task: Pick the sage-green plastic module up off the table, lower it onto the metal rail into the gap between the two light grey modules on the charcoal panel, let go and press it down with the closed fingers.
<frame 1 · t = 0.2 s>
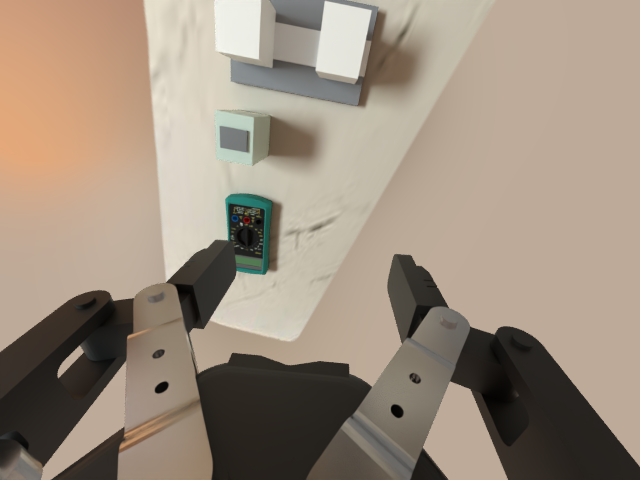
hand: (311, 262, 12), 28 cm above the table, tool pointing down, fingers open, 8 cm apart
digital multimeter: (251, 232, 45), on the table
module: (254, 133, 36), on the table
rail panel: (300, 48, 31), on the table
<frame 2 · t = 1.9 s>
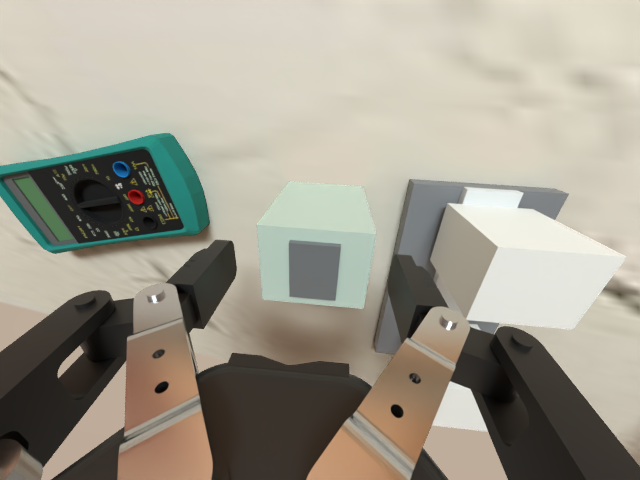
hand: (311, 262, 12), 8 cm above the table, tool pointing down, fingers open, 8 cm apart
digital multimeter: (121, 193, 21), on the table
module: (324, 212, 19), on the table
rail panel: (446, 280, 21), on the table
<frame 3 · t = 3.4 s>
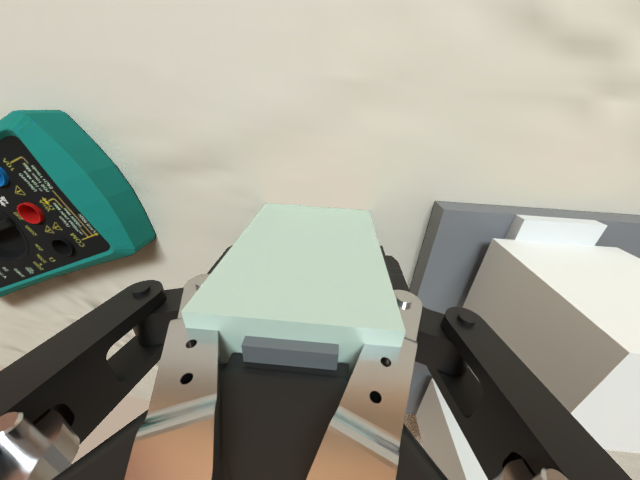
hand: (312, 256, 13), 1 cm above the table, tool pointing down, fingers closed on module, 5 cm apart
digital multimeter: (38, 214, 15), on the table
module: (315, 243, 14), on the table, touching gripper
rail panel: (476, 328, 16), on the table
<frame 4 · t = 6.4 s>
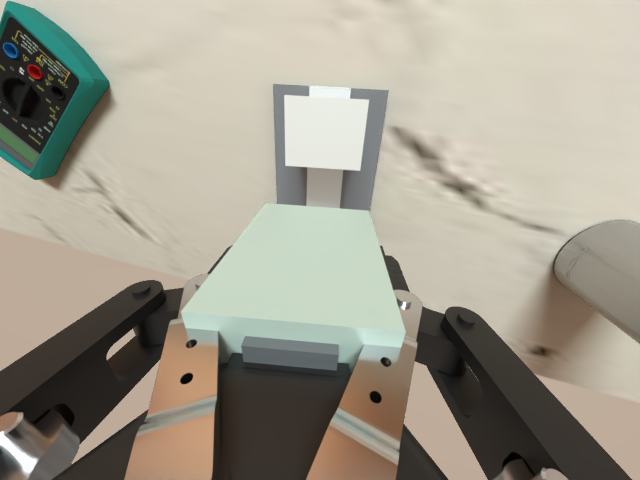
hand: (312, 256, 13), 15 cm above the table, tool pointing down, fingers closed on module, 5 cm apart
digital multimeter: (51, 104, 25), on the table
module: (315, 243, 14), point 14 cm above the table, touching gripper
rail panel: (325, 181, 26), on the table
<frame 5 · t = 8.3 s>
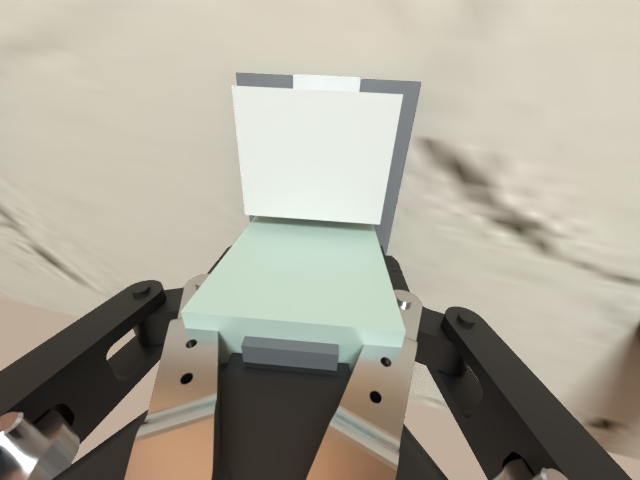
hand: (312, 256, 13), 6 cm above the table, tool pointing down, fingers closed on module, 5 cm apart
module: (315, 243, 14), point 5 cm above the table, touching gripper
rail panel: (320, 215, 18), on the table
when the fingers open (5 cm above the table, at t = 9.7 s): module drops 1 cm, resting on rail panel.
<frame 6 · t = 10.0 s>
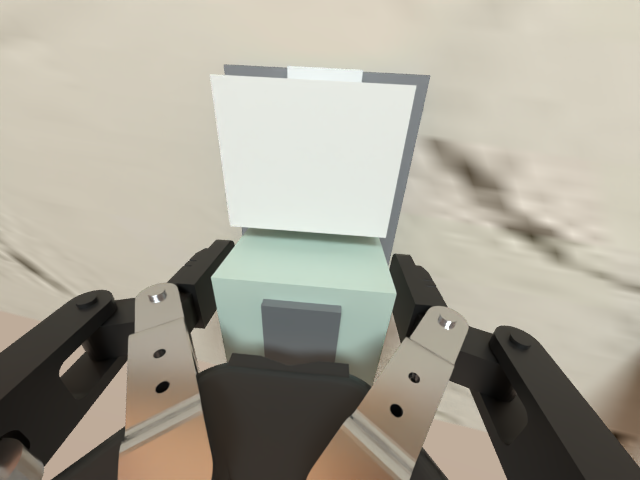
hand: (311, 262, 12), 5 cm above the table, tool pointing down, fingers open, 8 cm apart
module: (318, 233, 15), point 2 cm above the table, touching rail panel
rail panel: (318, 221, 17), on the table
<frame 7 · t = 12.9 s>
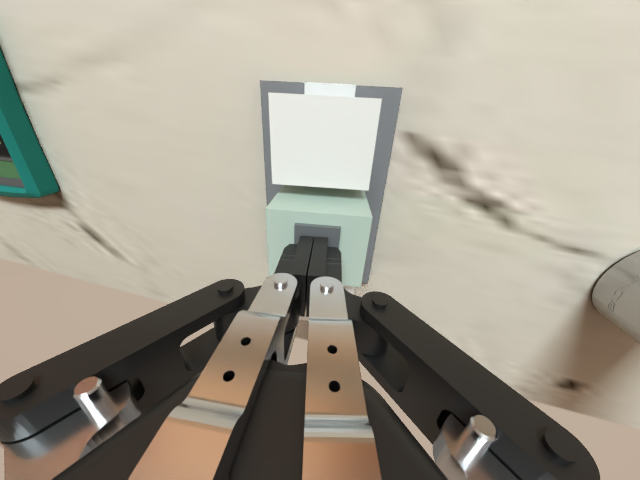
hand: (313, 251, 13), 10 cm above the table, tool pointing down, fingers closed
module: (324, 202, 21), point 2 cm above the table, touching gripper, rail panel
rail panel: (324, 196, 22), on the table
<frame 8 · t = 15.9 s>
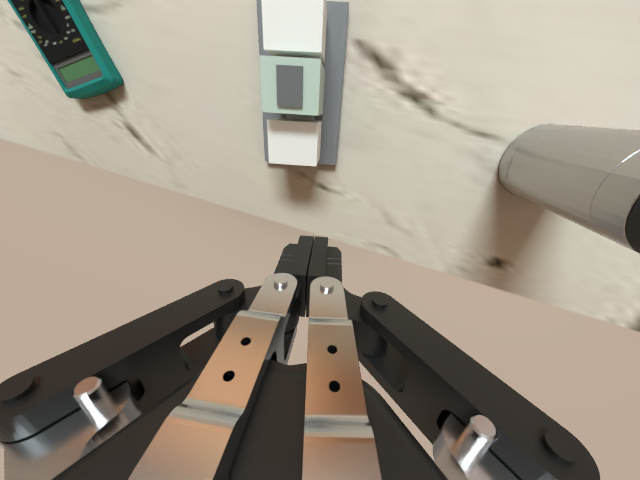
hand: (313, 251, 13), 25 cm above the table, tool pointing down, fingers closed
digital multimeter: (70, 27, 30), on the table
module: (301, 92, 30), point 2 cm above the table, touching rail panel
rail panel: (302, 92, 31), on the table
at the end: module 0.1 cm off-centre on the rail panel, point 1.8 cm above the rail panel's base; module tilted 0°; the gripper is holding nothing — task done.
